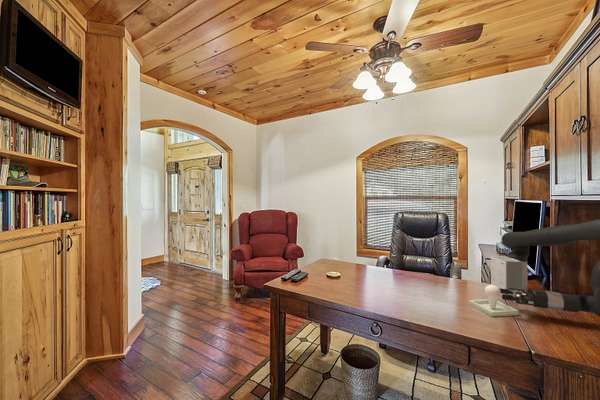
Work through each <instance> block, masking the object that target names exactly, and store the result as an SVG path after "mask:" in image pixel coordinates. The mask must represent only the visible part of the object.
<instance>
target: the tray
mask: <svg viewBox="0 0 600 400" xmlns="http://www.w3.org/2000/svg"><path fill="white" fill-rule="evenodd" d="M468 305H469V306H471V307H473V308H475V309H477V310H478V311H480V312H482V313H484V314H486V315H487V316H490V317H492V318H495V317H511V316H512V317H513V316H519V315H520V310H518V309H516V308H514V307H512V306H510V305H507V304H505V303H503V302H501V301H499V300H497V304H496V308H494V309H493V308H491V307H490V306H489V300H488V298H485V299H472V300H471V299H470V300H469V299H468Z"/></svg>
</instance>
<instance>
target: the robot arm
mask: <svg viewBox="0 0 600 400" xmlns="http://www.w3.org/2000/svg"><path fill="white" fill-rule="evenodd" d="M577 241H578V242H579V241H600V218H599V219H595V220H593V219H592V220H590V221H585V222H580V223H576V224H566V225H555V226H547V227H542V228H541V227H540V228H536V229H532V230H527V231H510V232H509V231H508V232H506V233H504V234H502V236H501V243H502V244H503V246H505V247H506V248H509V249H511V251H509V252H507V253H506V254H505V256H507V257H510V258H513V259H515V260H518V261H521V262H522V289H514V288H509V289H502V288H499V289H500V291H501V293H502V296H501V298H502V300H504V301H513V302H514V303H516V304H518V305H526V306H532V307H534V308H539V309H547V310H553V311H563V312H571V313H579V312H586V313H591V314H594V315H595V316H597V317H600V259H599V260H597V263H595V265H594V267H593V269H592V271H591V276H590V283H589V284H590V285H589V286H590V288H591V289H592V292H593V295H586V294H585V295H583V294H582V295H579V294H578V295H577V294H570V293H562V292H556V291H550V290H542V289H535V288H534V289H530V290H529V292H528V258H529V256H530V246H536V247H556V246H565V245H570V244H572V243H574V242H577ZM512 291H513V292H512ZM506 294H509V295H506Z"/></svg>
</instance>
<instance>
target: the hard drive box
mask: <svg viewBox="0 0 600 400" xmlns="http://www.w3.org/2000/svg"><path fill="white" fill-rule="evenodd" d="M490 285H494V286H496V287H498V288H502V289H509V288H514V289H522V262H521V261H518V260H515V259H513V258H510V257H507V256H506V255H495V254H493V255H490ZM512 292H513V291H512ZM506 295H509V294H506ZM500 297H502V293H501V295H500Z"/></svg>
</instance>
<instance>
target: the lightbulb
mask: <svg viewBox="0 0 600 400" xmlns="http://www.w3.org/2000/svg"><path fill="white" fill-rule="evenodd" d="M484 293H485V295H486V296H487V299H488V300H489V306H490V307H491V308H493V309H494V308H496V304H497V301H499V298H500V297H501V291H500V289H499V288H498V287H496V286H494V285H491V284H489V285H487V286H485V288H484Z"/></svg>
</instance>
